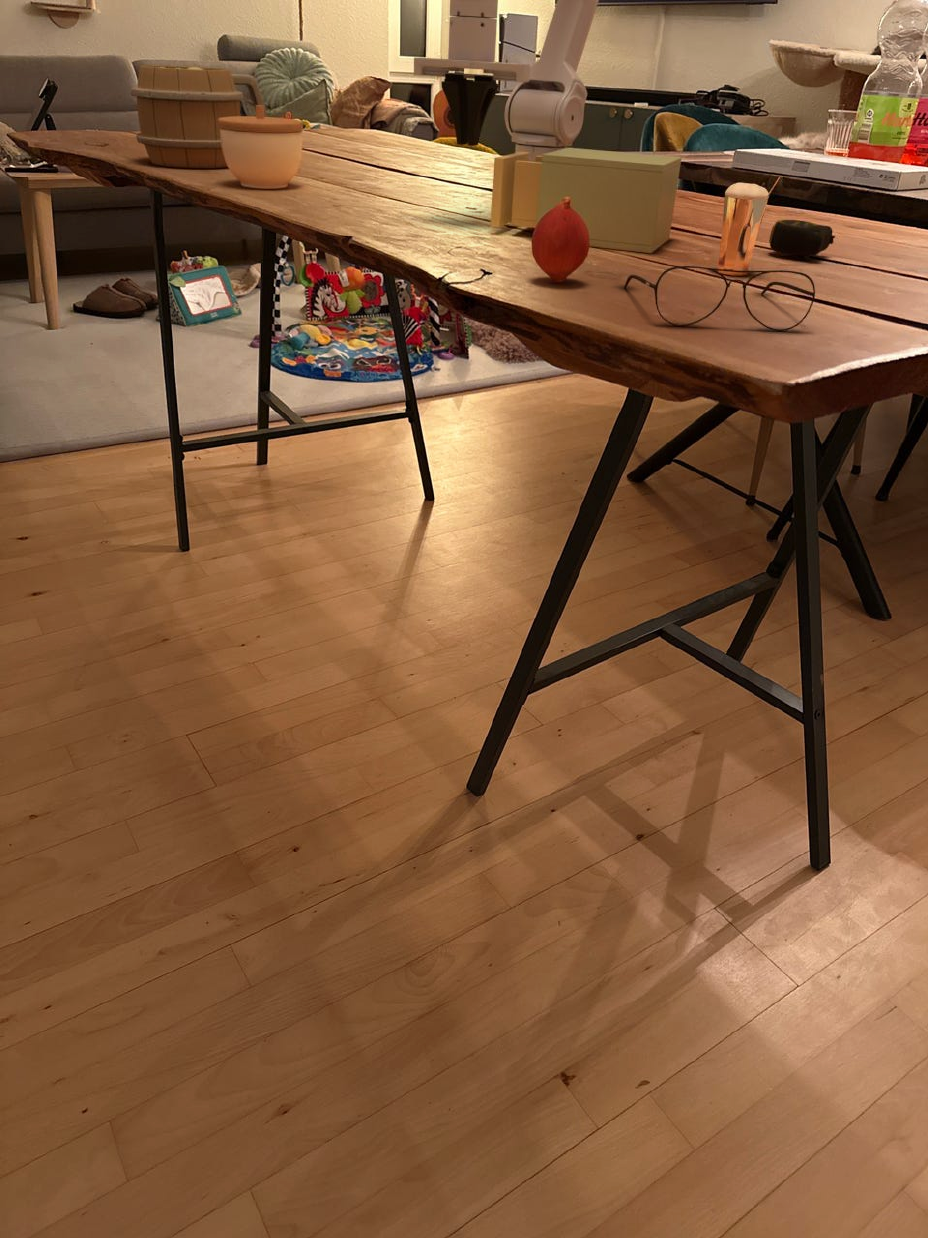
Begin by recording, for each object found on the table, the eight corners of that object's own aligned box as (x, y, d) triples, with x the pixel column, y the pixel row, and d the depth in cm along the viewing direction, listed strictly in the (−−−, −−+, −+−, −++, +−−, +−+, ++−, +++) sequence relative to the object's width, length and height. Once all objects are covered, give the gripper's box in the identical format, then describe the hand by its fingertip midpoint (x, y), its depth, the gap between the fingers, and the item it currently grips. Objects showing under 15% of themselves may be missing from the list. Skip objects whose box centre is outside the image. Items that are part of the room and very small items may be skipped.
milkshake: (753, 280, 101) (773, 178, 95) (705, 272, 103) (723, 172, 98) (765, 273, 104) (785, 175, 99) (719, 266, 106) (736, 169, 101)
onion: (519, 282, 94) (525, 196, 90) (542, 273, 98) (549, 190, 94) (572, 290, 92) (581, 202, 88) (593, 281, 96) (603, 196, 92)
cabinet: (535, 239, 116) (542, 153, 111) (560, 227, 125) (568, 147, 120) (651, 253, 111) (664, 164, 106) (669, 239, 121) (681, 157, 116)
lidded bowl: (321, 186, 148) (319, 107, 142) (266, 193, 138) (261, 109, 133) (262, 178, 153) (257, 101, 147) (205, 184, 144) (198, 102, 138)
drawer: (481, 225, 118) (484, 156, 114) (507, 214, 126) (512, 150, 122) (594, 237, 113) (602, 167, 109) (613, 226, 122) (622, 160, 118)
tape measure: (815, 264, 111) (823, 230, 109) (759, 255, 114) (765, 222, 112) (830, 256, 116) (838, 223, 114) (776, 248, 119) (782, 216, 117)
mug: (296, 166, 169) (292, 70, 161) (170, 171, 155) (159, 66, 147) (242, 155, 181) (236, 65, 173) (120, 159, 166) (107, 61, 158)
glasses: (649, 325, 81) (656, 264, 79) (621, 305, 95) (627, 253, 93) (810, 332, 82) (822, 272, 80) (760, 312, 95) (769, 260, 93)
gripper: (404, 13, 110) (402, 141, 117) (520, 18, 106) (511, 151, 113) (427, 16, 116) (424, 138, 123) (538, 21, 112) (529, 147, 119)
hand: (467, 144), depth 119 cm, fingers closed
